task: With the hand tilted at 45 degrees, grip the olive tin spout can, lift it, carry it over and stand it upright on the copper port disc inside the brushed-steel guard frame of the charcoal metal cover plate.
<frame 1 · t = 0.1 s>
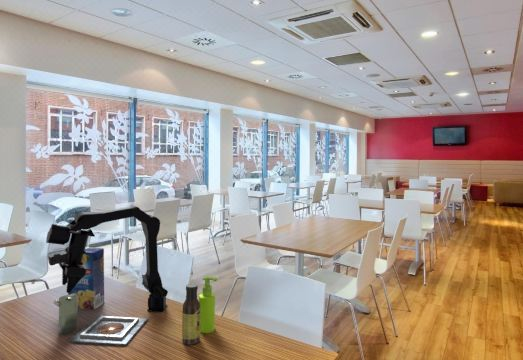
hand: (65, 288, 136), 15 cm above the table, tool pointing down, fingers open, 9 cm apart
soap dispenser: (207, 330, 140), on the table
port plate: (111, 330, 137), on the table
spout can: (68, 331, 137), on the table
juice carton: (86, 305, 160), on the table
sauce bottle: (191, 341, 131), on the table
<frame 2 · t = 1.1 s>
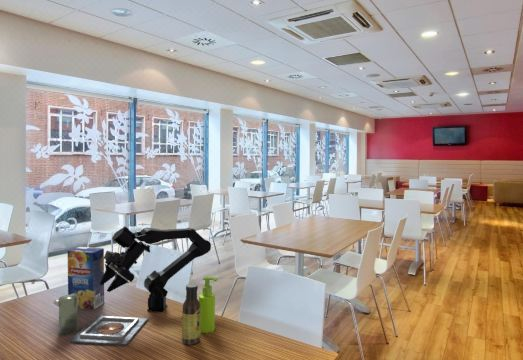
hand: (104, 287, 144), 13 cm above the table, tool tilted 45°, fingers open, 9 cm apart
nothing on the table moved.
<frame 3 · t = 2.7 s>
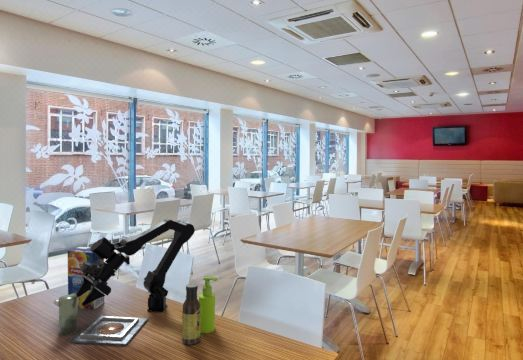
hand: (79, 300, 138), 10 cm above the table, tool tilted 45°, fingers open, 9 cm apart
nothing on the table moved.
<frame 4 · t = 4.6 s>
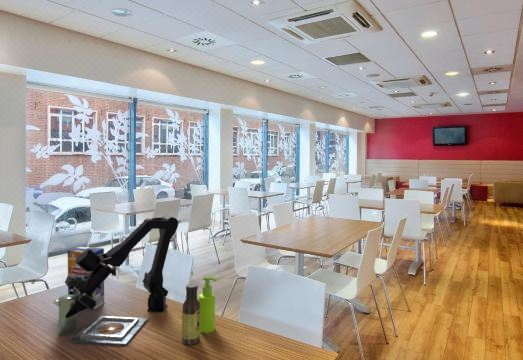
hand: (64, 314, 135), 7 cm above the table, tool tilted 45°, fingers closed on spout can, 6 cm apart
spout can: (68, 331, 137), on the table, touching gripper
everything else where it was.
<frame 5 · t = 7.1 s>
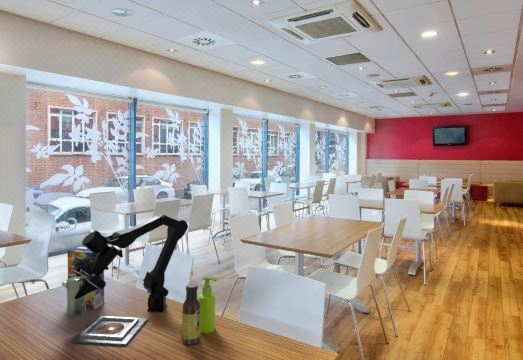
hand: (72, 296, 134), 14 cm above the table, tool tilted 45°, fingers closed on spout can, 6 cm apart
spout can: (76, 312, 136), point 7 cm above the table, touching gripper
everything else where it was.
when the fingers open (8 cm above the table, at t = 9.6 s): spout can stays where it is, resting on port plate.
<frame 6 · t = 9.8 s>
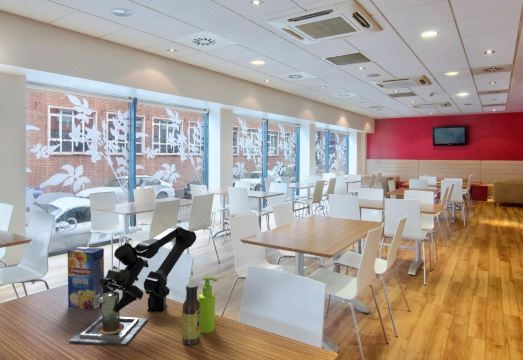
hand: (107, 309, 136), 9 cm above the table, tool tilted 45°, fingers open, 8 cm apart
spout can: (111, 327, 137), point 1 cm above the table, touching port plate
everything else where it was.
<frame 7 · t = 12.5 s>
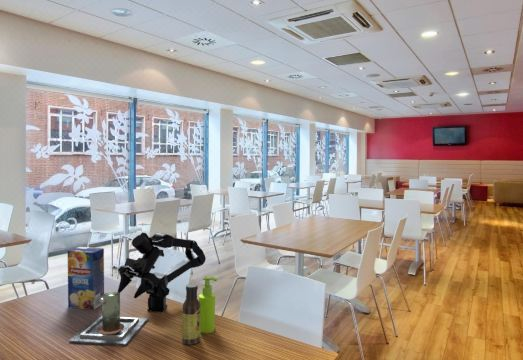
hand: (126, 295, 144), 11 cm above the table, tool tilted 45°, fingers open, 9 cm apart
nothing on the table moved.
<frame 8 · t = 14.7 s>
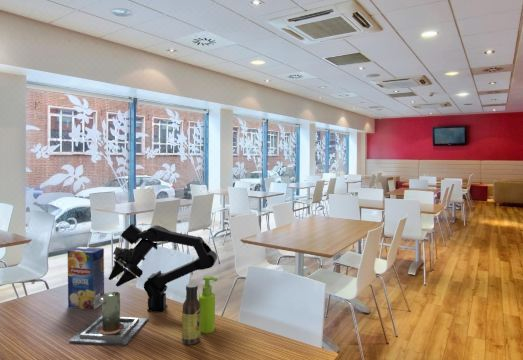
hand: (112, 282, 149), 14 cm above the table, tool tilted 45°, fingers open, 9 cm apart
nothing on the table moved.
at the end: spout can inside the target area on the port plate (0.1 cm from its centre), point 1.0 cm above the port plate's base; spout can tilted 0°; the gripper is holding nothing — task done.
